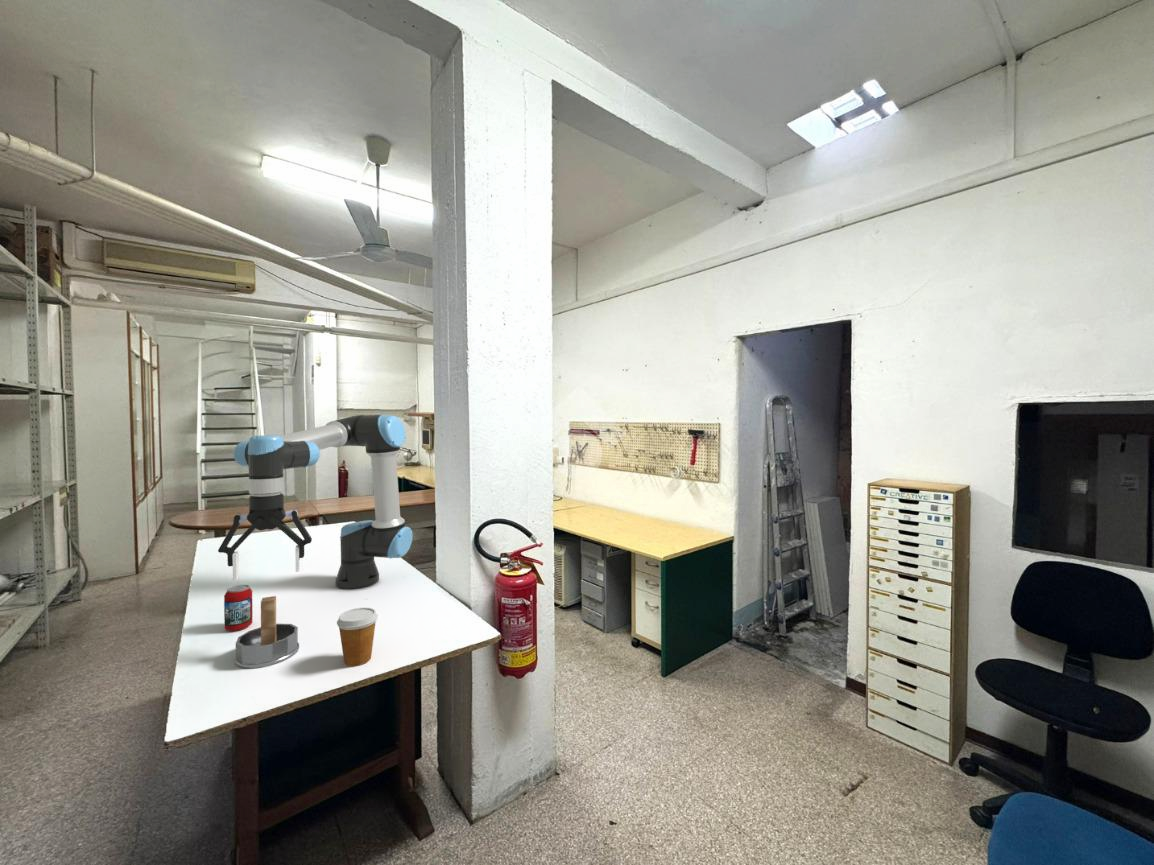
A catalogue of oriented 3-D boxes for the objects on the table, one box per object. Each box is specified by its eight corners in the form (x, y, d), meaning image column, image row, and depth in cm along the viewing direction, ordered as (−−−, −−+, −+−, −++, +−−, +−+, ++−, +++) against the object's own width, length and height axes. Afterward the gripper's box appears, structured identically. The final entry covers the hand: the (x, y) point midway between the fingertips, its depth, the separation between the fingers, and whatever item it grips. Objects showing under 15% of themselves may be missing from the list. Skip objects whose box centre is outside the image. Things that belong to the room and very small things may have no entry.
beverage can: (222, 634, 131) (221, 593, 131) (227, 625, 137) (226, 586, 137) (250, 629, 134) (250, 589, 134) (254, 621, 140) (254, 582, 140)
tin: (300, 637, 129) (300, 619, 129) (296, 660, 117) (296, 640, 117) (240, 648, 123) (240, 629, 123) (229, 674, 110) (229, 652, 110)
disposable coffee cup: (346, 651, 122) (346, 607, 121) (383, 650, 122) (382, 606, 122) (330, 670, 112) (329, 622, 112) (370, 669, 113) (369, 621, 113)
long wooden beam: (276, 647, 122) (276, 595, 122) (274, 652, 119) (274, 599, 119) (263, 650, 121) (262, 597, 120) (261, 655, 118) (260, 601, 118)
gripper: (321, 488, 128) (322, 563, 129) (210, 495, 117) (211, 577, 117) (320, 492, 122) (321, 571, 122) (202, 499, 110) (203, 586, 111)
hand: (267, 574), depth 120 cm, fingers open, 13 cm apart
